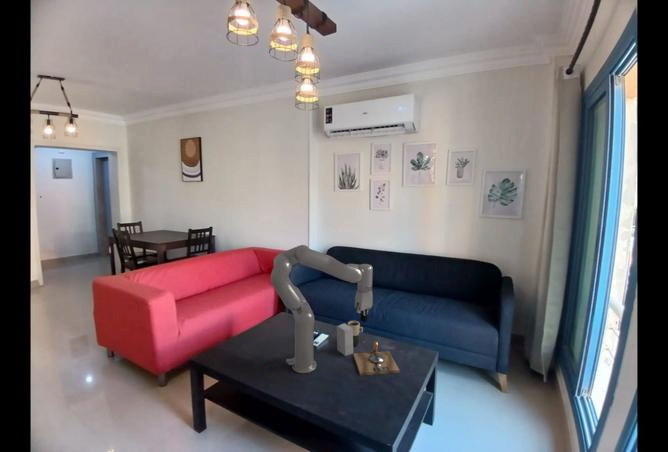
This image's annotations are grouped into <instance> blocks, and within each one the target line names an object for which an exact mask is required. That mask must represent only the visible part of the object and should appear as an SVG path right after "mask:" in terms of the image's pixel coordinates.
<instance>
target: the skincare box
mask: <svg viewBox="0 0 668 452" xmlns="http://www.w3.org/2000/svg"><path fill="white" fill-rule="evenodd" d="M336 342H337V343H336V344H337V345H336V346H337V348H336V349H337V351H338V352H339V353H341V354H342V355H343V356H345V357H346V356H350V355H353V354H354V346H353V328H352V327H350V326H348V324H346V323H341V324H339V325H336Z"/></svg>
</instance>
